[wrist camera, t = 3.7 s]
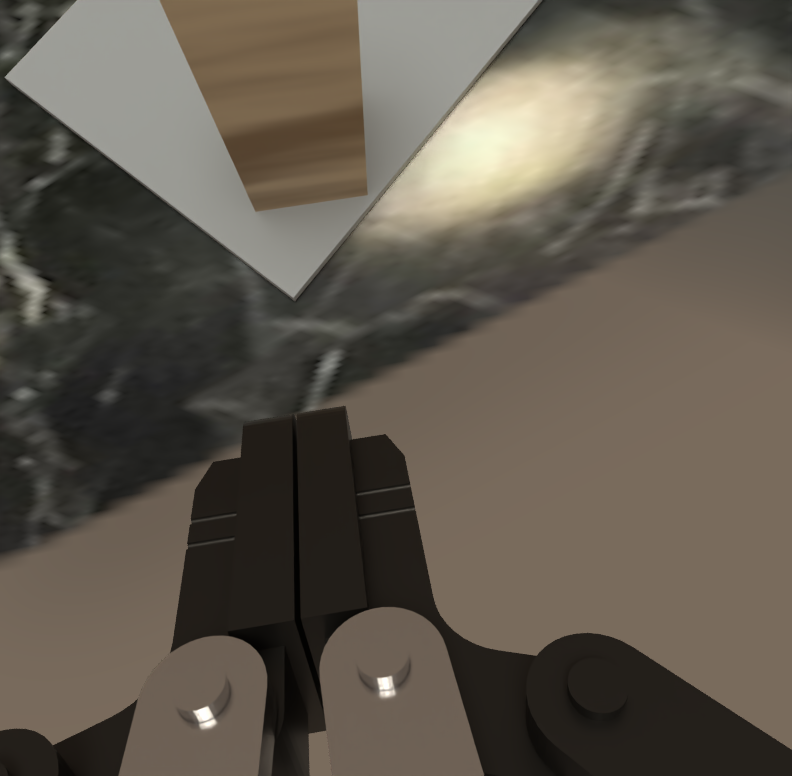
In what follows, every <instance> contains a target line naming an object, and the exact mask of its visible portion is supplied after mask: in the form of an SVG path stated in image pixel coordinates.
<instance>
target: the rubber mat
mask: <svg viewBox="0 0 792 776" xmlns="http://www.w3.org/2000/svg"><path fill="white" fill-rule="evenodd" d="M541 2H542V0H357V3H358V22H359V41H360V59H361V78H362V97H363V116H364V135H365V154H366V173H367V191H368V195H366V196H359V197H352V198H345V199H339V200H332V201H325V202H318V203H312V204H305V205H298V206H291V207H285V208H278V209H271V210H264V211H258V212H255V210H254V208H253V205H252V203H251V201H250V199H249V197H248V194H247V192H246V190H245V188H244V186H243V183H242V181H241V179H240V177H239V174H238V172H237V170H236V168H235V166H234V163H233V161H232V159H231V157H230V155H229V152H228V150H227V148H226V146H225V144H224V141H223V139H222V137H221V135H220V133H219V130H218V128H217V126H216V124H215V122H214V119H213V117H212V115H211V113H210V111H209V108H208V106H207V104H206V102H205V100H204V97H203V95H202V93H201V91H200V89H199V86H198V84H197V82H196V80H195V78H194V75H193V73H192V71H191V69H190V67H189V64H188V62H187V60H186V58H185V56H184V53H183V51H182V49H181V47H180V45H179V42H178V40H177V38H176V36H175V34H174V31H173V29H172V27H171V25H170V22H169V20H168V18H167V16H166V14H165V11H164V9H163V7H162V5H161V3H160V0H77V1H76V2H75V3H74V4H73V5H72V6H71V8H70V9H69V10H68V11H67V12H66V13H65V14H64V15H63V16H62V17H61V18H60V19H59V20H58V21H57V22H56V23H55V24H54V26H53V27H52V28H51V29H50V30H49V31H48V32H47V33H46V34H45V35H44V36H43V37H42V38H41V39H40V40H39V41H38V43H37V44H36V45H35V46H34V47H33V48H32V49H31V50H30V51H29V52H28V53H27V54H26V55H25V56H24V57H23V58H22V60H21V61H20V62H19V63H18V64H17V65H16V66H15V67H14V68H13V69H12V70H11V71H10V72H9V73H8V74H7V75H6V77H5V78H6V79H7V80H8V81H9V83H10V84H11V85H13V86H14V87H15V88H17V89H18V90H19V91H20V92H22V93H23V94H24V95H26V96H27V97H28V98H30V99H31V100H32V101H34V102H35V103H36V104H37V105H39V106H40V107H41V108H43V109H44V110H45V111H47V112H48V113H49V114H51V115H52V116H53V117H54V118H56V119H57V120H58V121H60V122H61V123H62V124H64V125H65V126H66V127H67V128H69V129H70V130H71V131H73V132H74V133H75V134H77V135H78V136H79V137H81V138H82V139H83V140H84V141H86V142H87V143H88V144H90V145H91V146H92V147H94V148H95V149H96V150H98V151H99V152H100V153H101V154H103V155H104V156H105V157H107V158H108V159H109V160H111V161H112V162H113V163H115V164H116V165H117V166H118V167H120V168H121V169H122V170H124V171H125V172H126V173H128V174H129V175H130V176H132V177H133V178H134V179H135V180H137V181H138V182H139V183H141V184H142V185H143V186H145V187H146V188H147V189H149V190H150V191H151V192H152V193H154V194H155V195H156V196H158V197H159V198H160V199H162V200H163V201H164V202H166V203H167V204H168V205H169V206H171V207H172V208H173V209H175V210H176V211H177V212H179V213H180V214H181V215H182V216H184V217H185V218H186V219H188V220H189V221H190V222H192V223H193V224H194V225H196V226H197V227H198V228H199V229H201V230H202V231H203V232H205V233H206V234H207V235H209V236H210V237H211V238H213V239H214V240H215V241H216V242H218V243H219V244H220V245H222V246H223V247H224V248H226V249H227V250H228V251H230V252H231V253H232V254H233V255H235V256H236V257H237V258H239V259H240V260H241V261H243V262H244V263H245V264H247V265H248V266H249V267H250V268H252V269H253V270H254V271H256V272H257V273H258V274H260V275H261V276H262V277H264V278H265V279H266V280H267V281H269V282H270V283H271V284H273V285H274V286H275V287H277V288H278V289H279V290H281V291H282V292H283V293H284V294H286V295H287V296H288V297H290V298H291V299H292V300H294V301H296V299H297V298H298V297H299V296H300V295H301V293H302V292H303V291H304V290H305V288H306V287H307V286H308V285H309V284H310V282H311V281H312V280H313V279H314V278H315V276H316V275H317V274H318V273H319V271H320V270H321V269H322V268H323V267H324V265H325V264H326V263H327V262H328V261H329V259H330V258H331V257H332V256H333V254H334V253H335V252H336V251H337V250H338V248H339V247H340V246H341V245H342V244H343V242H344V241H345V240H346V239H347V237H348V236H349V235H350V234H351V233H352V231H353V230H354V229H355V228H356V226H357V225H358V224H359V223H360V222H361V220H362V219H363V218H364V217H365V216H366V214H367V213H368V212H369V211H370V209H371V208H372V207H373V206H374V205H375V203H376V202H377V201H378V200H379V199H380V197H381V196H382V195H383V194H384V192H385V191H386V190H387V189H388V188H389V186H390V185H391V184H392V183H393V182H394V180H395V179H396V178H397V177H398V175H399V174H400V173H401V172H402V171H403V169H404V168H405V167H406V166H407V165H408V163H409V162H410V161H411V160H412V158H413V157H414V156H415V155H416V154H417V152H418V151H419V150H420V149H421V147H422V146H423V145H424V144H425V143H426V141H427V140H428V139H429V138H430V137H431V135H432V134H433V133H434V132H435V130H436V129H437V128H438V127H439V126H440V124H441V123H442V122H443V121H444V120H445V118H446V117H447V116H448V115H449V113H450V112H451V111H452V110H453V109H454V107H455V106H456V105H457V104H458V103H459V101H460V100H461V99H462V98H463V96H464V95H465V94H466V93H467V92H468V90H469V89H470V88H471V87H472V85H473V84H474V83H475V82H476V81H477V79H478V78H479V77H480V76H481V75H482V73H483V72H484V71H485V70H486V68H487V67H488V66H489V65H490V64H491V62H492V61H493V60H494V59H495V58H496V56H497V55H498V54H499V53H500V51H501V50H502V49H503V48H504V47H505V45H506V44H507V43H508V42H509V41H510V39H511V38H512V37H513V36H514V34H515V33H516V32H517V31H518V30H519V28H520V27H521V26H522V25H523V23H524V22H525V21H526V20H527V19H528V17H529V16H530V15H531V14H532V13H533V11H534V10H535V9H536V8H537V6H538V5H539V4H540V3H541Z"/></svg>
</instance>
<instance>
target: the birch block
mask: <svg viewBox="0 0 792 776" xmlns="http://www.w3.org/2000/svg"><path fill="white" fill-rule="evenodd" d="M160 3H161V5H162V7H163V9H164V11H165V14H166V16H167V18H168V20H169V22H170V25H171V27H172V29H173V31H174V34H175V36H176V38H177V40H178V42H179V45H180V47H181V49H182V51H183V53H184V56H185V58H186V60H187V62H188V64H189V67H190V69H191V71H192V73H193V75H194V78H195V80H196V82H197V84H198V86H199V89H200V91H201V93H202V95H203V97H204V100H205V102H206V104H207V106H208V108H209V111H210V113H211V115H212V117H213V119H214V122H215V124H216V126H217V128H218V130H219V133H220V135H221V137H222V139H223V141H224V144H225V146H226V148H227V150H228V152H229V155H230V157H231V159H232V161H233V163H234V166H235V168H236V170H237V172H238V174H239V177H240V179H241V181H242V183H243V186H244V188H245V190H246V192H247V194H248V197H249V199H250V201H251V203H252V205H253V208H254V210H255V212H258V211H264V210H271V209H278V208H285V207H291V206H298V205H305V204H312V203H318V202H325V201H332V200H339V199H345V198H352V197H359V196H366V195H368V191H367V173H366V154H365V135H364V116H363V97H362V78H361V59H360V41H359V22H358V3H357V0H160Z"/></svg>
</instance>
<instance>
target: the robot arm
mask: <svg viewBox="0 0 792 776" xmlns="http://www.w3.org/2000/svg"><path fill="white" fill-rule="evenodd" d="M191 521H192V524H191V525H190V528H189V535H188V542H187V544H188V549H187V550H186V555H185V562H184V570H183V576H182V583H181V590H180V596H179V604H178V610H177V617H176V624H175V630H174V637H173V644H172V648H171V652H170V654H169V655H168V656H167V657H165V658H164V659H163V660H162V661H161V662H160V663H159V664H158V665H157V666H156V667H155V668H154V670H153V671H152V673H151V674H150V676H149V677H148V678H147V680H146V682H145V683H144V686H143V687H142V689H141V692H140V695H139V698H138V699H137V700H136V701H135V702H134V703H133V704H131V705H130V706H128V707H127V708H125V709H124V710H123V711H121V712H119V713H118V714H116V715H114V716H112V717H110V718H108V719H106V720H104V721H102V722H101V723H98V724H96V725H94V726H92V727H90V728H88V729H86V730H84V731H82V732H80V733H78V734H76V735H74V736H71V737H69V738H67V739H65V740H63V741H61V742H59V743H57V744H55V745H52V744H51V743H50V742H49V741H48V740H47V739H46V738H45V737H44V736H43V735H41V734H39V733H37V732H35V731H31V730H27V729H9V730H3V731H0V776H309V742H308V741H309V740H308V734H309V733H315V732H320V731H327V738H328V747H329V755H330V762H331V771H332V776H792V750H791V749H789V748H788V747H786V746H785V745H783V744H782V743H780V742H779V741H777V740H776V739H774V738H772V737H771V736H769V735H768V734H766V733H765V732H763V731H762V730H760V729H759V728H757V727H755V726H754V725H752V724H751V723H749V722H748V721H746V720H745V719H743V718H742V717H740V716H738V715H737V714H735V713H734V712H732V711H731V710H729V709H728V708H726V707H725V706H723V705H721V704H720V703H718V702H717V701H715V700H713V699H712V698H711V697H709V696H708V695H706V694H704V693H703V692H701V691H700V690H698V689H697V688H695V687H694V686H692V685H691V684H689V683H687V682H686V681H684V680H683V679H681V678H680V677H678V676H677V675H675V674H674V673H672V672H670V671H669V670H667V669H666V668H664V667H663V666H661V665H660V664H658V663H656V662H655V661H653V660H652V659H650V658H649V657H647V656H646V655H644V654H643V653H641V652H639V651H638V650H636V649H635V648H633V647H632V646H630V645H628V644H626V643H624V642H622V641H620V640H618V639H615V638H612V637H609V636H605V635H601V634H592V633H581V634H573V635H568V636H564V637H562V638H560V639H557V640H555V641H553V642H552V643H550V644H549V645H547V646H546V647H545V648H544V649H543V650H542V651H541V652H539V654H538V655H537V656H533V655H527V654H519V653H512V652H505V651H498V650H493V649H489V648H484V647H482V646H479V645H476V644H474V643H472V642H470V641H468V640H466V639H464V638H463V637H461V636H460V635H458V634H457V633H456V632H454V631H453V630H452V629H451V628H450V627H449V626H448V625H447V624H446V622H445V621H444V620H443V618H442V617H441V616H440V614H439V612H438V610H437V608H436V605H435V602H434V598H433V594H432V589H431V584H430V579H429V575H428V570H427V564H426V560H425V555H424V550H423V545H422V540H421V535H420V530H419V525H418V520H417V516H416V511H415V506H414V500H413V496H412V491H411V487H410V481H409V476H408V471H407V466H406V461H405V456H404V455H403V453H402V452H401V451H400V450H399V449H398V448H397V447H396V446H395V444H394V443H393V442H392V441H391V440H390V439H389V438H388V437H387V436H386V434H384V435H378V436H371V437H365V438H359V439H353V440H352V437H351V431H350V426H349V421H348V415H347V410H346V406H341V407H335V408H329V409H322V410H316V411H310V412H303V413H298V414H297V420H296V417H295V415H294V414H292V415H285V416H279V417H273V418H266V419H260V420H254V421H247V422H245V423H244V425H243V434H242V447H241V458H235V459H229V460H222V461H216V462H213V463H212V465H211V466H210V468H209V469H208V471H207V472H206V474H205V475H204V477H203V478H202V480H201V482H200V483H199V484H198V486H197V487H196V489H195V494H194V501H193V508H192V514H191Z"/></svg>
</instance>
